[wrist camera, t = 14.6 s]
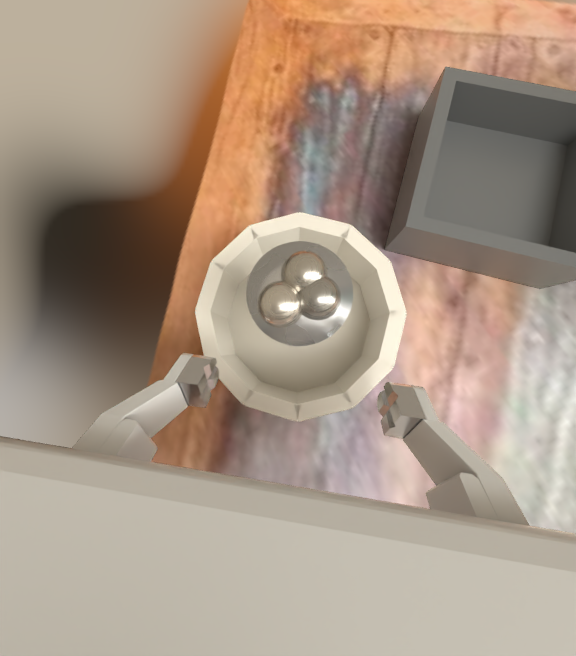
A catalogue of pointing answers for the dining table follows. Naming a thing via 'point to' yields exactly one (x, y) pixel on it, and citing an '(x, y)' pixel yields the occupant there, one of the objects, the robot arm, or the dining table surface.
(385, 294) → the bowl
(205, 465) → the dining table surface
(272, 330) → the pebble cup
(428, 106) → the tray
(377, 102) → the dining table surface
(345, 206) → the dining table surface
